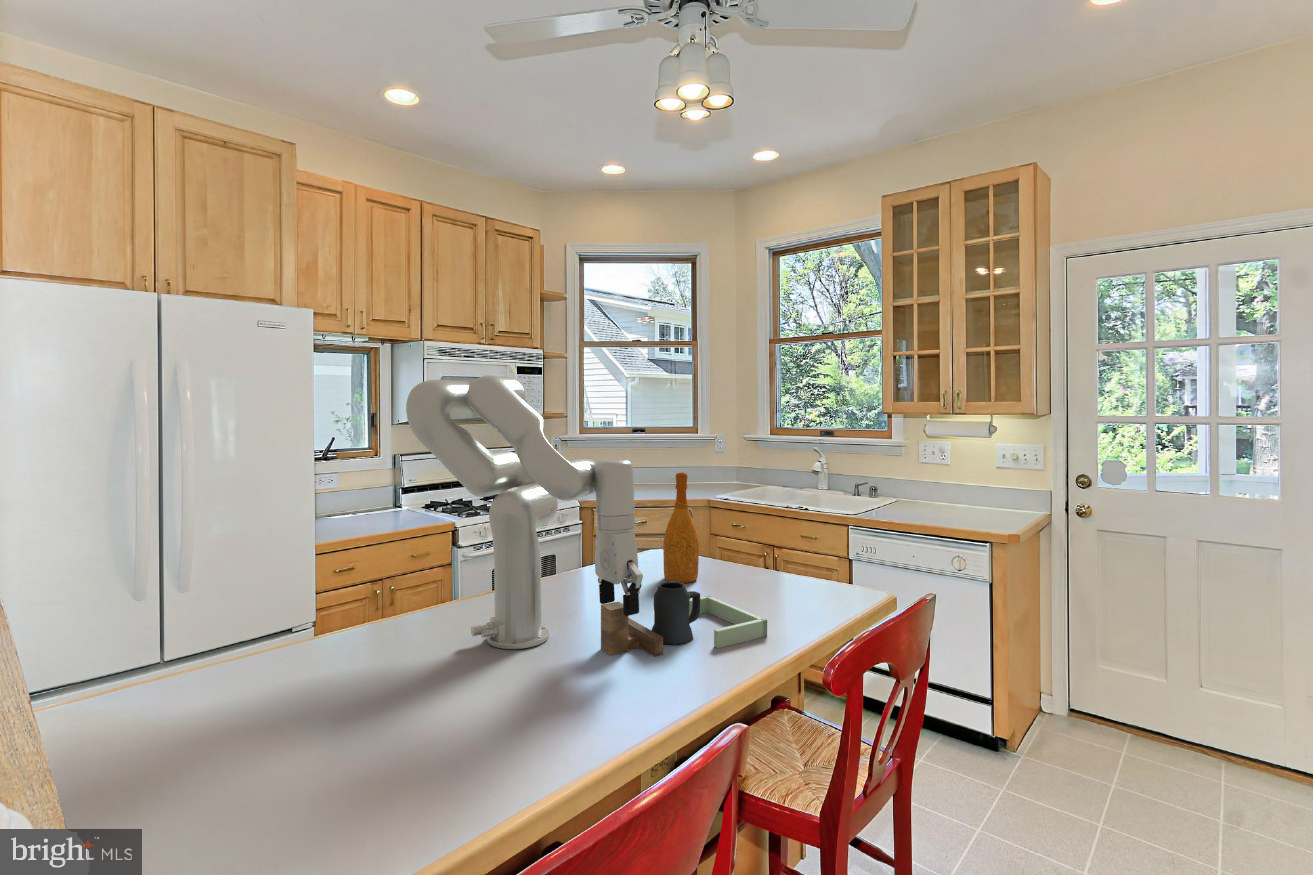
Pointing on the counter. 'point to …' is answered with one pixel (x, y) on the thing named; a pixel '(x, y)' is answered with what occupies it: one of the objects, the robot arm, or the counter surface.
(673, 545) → the wine bottle
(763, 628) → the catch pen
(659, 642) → the wooden cross block
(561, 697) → the counter surface
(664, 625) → the mug
